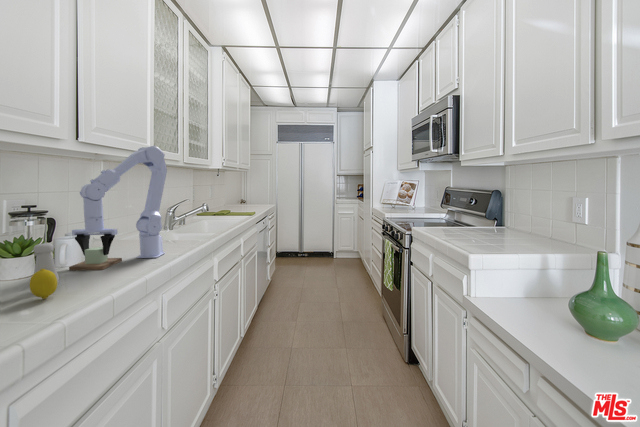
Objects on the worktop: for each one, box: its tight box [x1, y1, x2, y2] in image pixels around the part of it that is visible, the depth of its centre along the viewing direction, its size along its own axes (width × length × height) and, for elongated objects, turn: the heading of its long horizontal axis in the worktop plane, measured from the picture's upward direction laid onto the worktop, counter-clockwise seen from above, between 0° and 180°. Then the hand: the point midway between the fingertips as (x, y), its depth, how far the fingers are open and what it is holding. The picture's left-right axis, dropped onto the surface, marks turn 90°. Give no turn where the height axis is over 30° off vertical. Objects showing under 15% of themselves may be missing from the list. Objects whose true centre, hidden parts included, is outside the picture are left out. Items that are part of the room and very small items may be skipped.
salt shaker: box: [33, 242, 60, 286], centre depth 94 cm, size 6×6×13 cm
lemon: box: [29, 269, 58, 300], centre depth 87 cm, size 6×6×8 cm
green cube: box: [84, 246, 109, 264], centre depth 122 cm, size 5×5×5 cm
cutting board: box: [68, 257, 123, 271], centre depth 122 cm, size 13×11×1 cm
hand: (96, 254), depth 122 cm, fingers open, 6 cm apart
